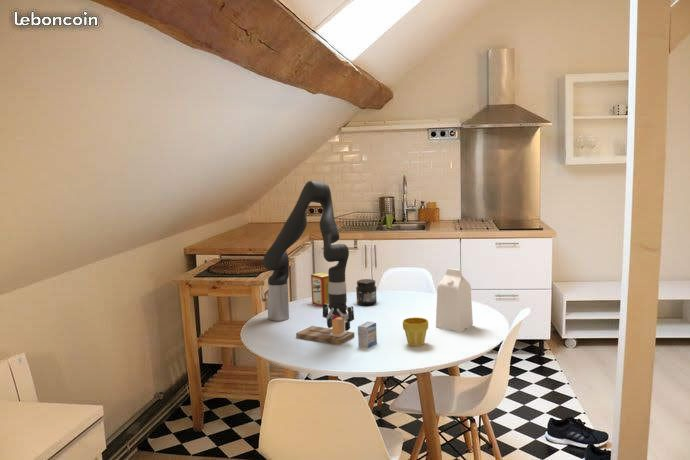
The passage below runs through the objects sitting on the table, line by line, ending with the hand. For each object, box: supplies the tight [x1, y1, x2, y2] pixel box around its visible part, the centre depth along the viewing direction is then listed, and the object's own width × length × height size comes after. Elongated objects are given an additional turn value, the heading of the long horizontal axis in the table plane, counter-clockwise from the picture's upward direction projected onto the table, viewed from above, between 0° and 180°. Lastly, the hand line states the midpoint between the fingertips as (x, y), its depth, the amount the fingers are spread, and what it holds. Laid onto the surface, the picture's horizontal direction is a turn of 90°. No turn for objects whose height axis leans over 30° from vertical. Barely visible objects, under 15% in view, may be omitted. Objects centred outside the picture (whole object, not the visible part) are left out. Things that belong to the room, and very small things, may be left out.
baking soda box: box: [310, 272, 329, 308], centre depth 314 cm, size 10×6×16 cm
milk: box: [435, 267, 474, 332], centre depth 269 cm, size 12×12×26 cm
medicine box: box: [357, 321, 378, 349], centre depth 249 cm, size 8×4×9 cm, turn 148°
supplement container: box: [355, 278, 378, 307], centre depth 313 cm, size 10×10×12 cm
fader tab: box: [330, 317, 349, 337], centre depth 256 cm, size 5×6×7 cm
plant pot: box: [402, 316, 429, 347], centre depth 248 cm, size 10×10×10 cm
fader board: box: [295, 325, 355, 346], centre depth 261 cm, size 22×12×2 cm, turn 58°
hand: (338, 329), depth 257 cm, fingers open, 8 cm apart
